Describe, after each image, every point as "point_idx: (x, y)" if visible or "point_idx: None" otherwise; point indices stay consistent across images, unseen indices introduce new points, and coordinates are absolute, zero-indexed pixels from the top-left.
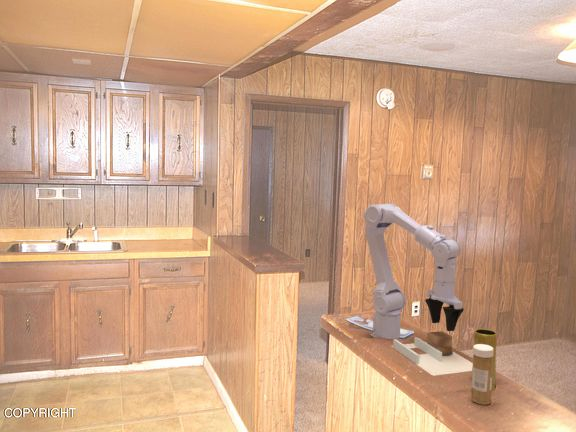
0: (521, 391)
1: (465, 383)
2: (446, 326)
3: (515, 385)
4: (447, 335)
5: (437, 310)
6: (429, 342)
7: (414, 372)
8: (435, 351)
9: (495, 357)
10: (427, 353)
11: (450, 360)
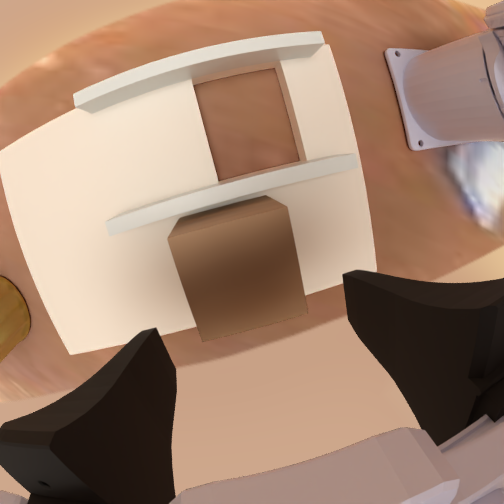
0: (10, 382)
1: (6, 262)
2: (142, 339)
3: (35, 388)
4: (222, 321)
5: (401, 358)
6: (249, 205)
7: None
8: (141, 208)
9: None
10: (217, 183)
11: (135, 269)
